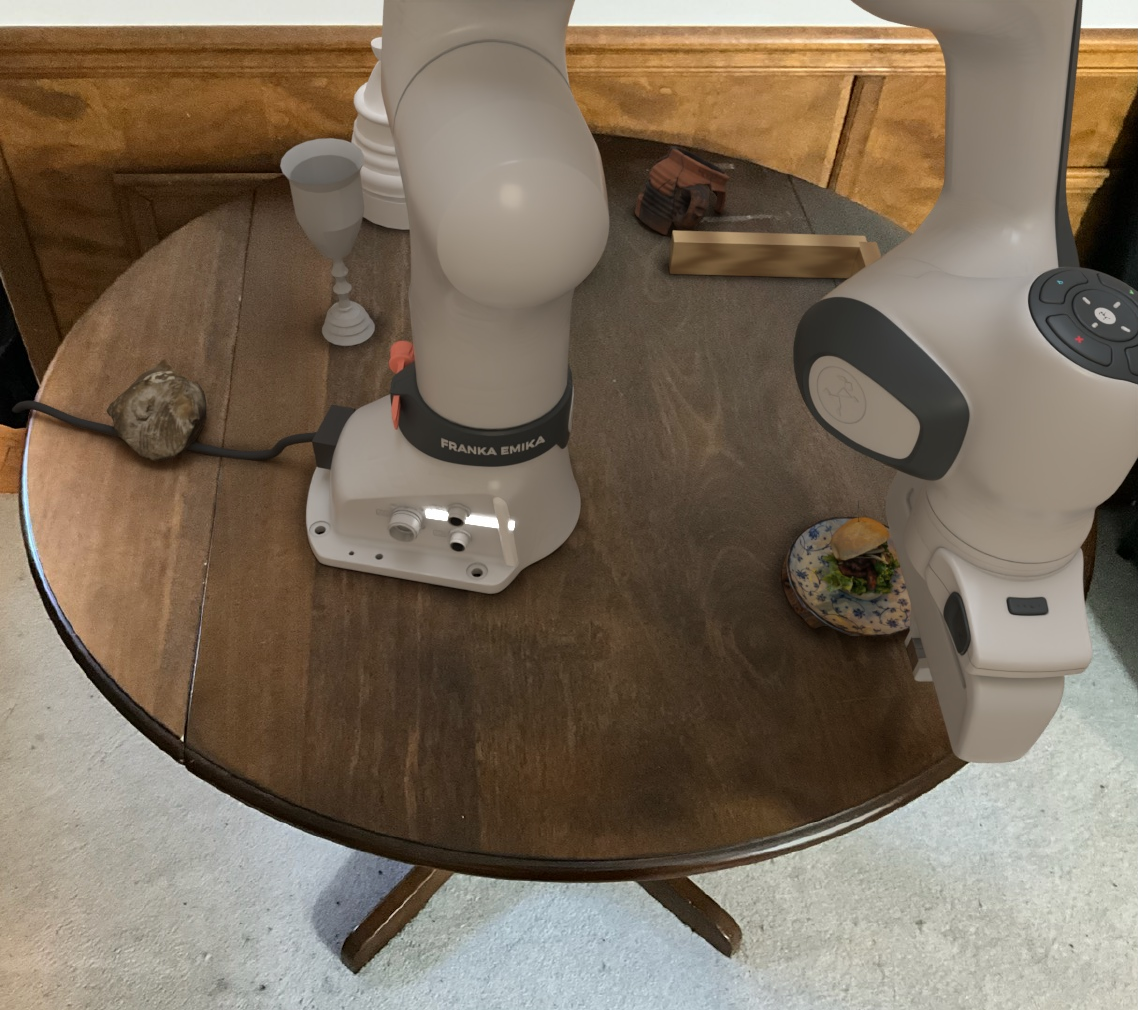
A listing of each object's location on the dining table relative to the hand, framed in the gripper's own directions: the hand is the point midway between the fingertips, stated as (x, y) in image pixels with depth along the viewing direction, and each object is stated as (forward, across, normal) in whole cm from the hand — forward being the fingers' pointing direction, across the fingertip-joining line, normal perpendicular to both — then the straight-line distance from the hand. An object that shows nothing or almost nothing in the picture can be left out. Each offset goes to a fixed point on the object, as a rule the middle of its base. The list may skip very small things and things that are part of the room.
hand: (920, 663), depth 70 cm
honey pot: (+7, -65, -40) cm, 77 cm away
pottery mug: (+7, -62, -10) cm, 63 cm away
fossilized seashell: (+6, -28, -58) cm, 65 cm away
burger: (+7, -12, 0) cm, 14 cm away
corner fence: (+7, -43, -2) cm, 44 cm away
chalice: (+7, -42, -44) cm, 61 cm away
